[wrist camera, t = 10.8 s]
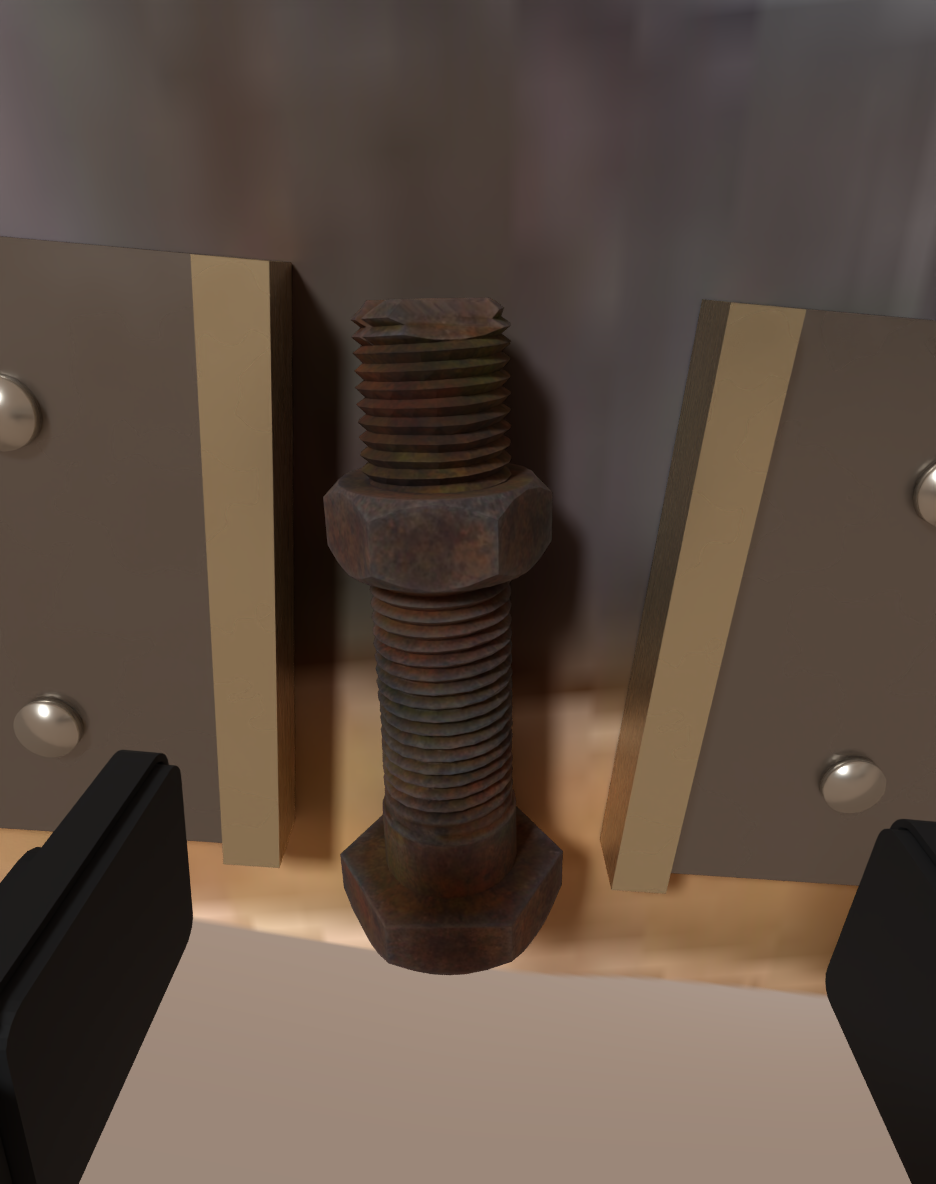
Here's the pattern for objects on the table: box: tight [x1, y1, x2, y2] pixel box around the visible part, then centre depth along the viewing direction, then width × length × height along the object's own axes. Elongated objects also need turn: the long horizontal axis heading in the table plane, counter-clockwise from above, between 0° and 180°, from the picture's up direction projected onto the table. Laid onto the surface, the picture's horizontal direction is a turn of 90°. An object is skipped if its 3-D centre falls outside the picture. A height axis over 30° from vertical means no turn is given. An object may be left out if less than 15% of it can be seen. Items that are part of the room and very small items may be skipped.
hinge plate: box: [0, 236, 936, 894], centre depth 19 cm, size 30×15×2 cm, turn 85°
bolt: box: [323, 298, 563, 975], centre depth 18 cm, size 6×5×15 cm
